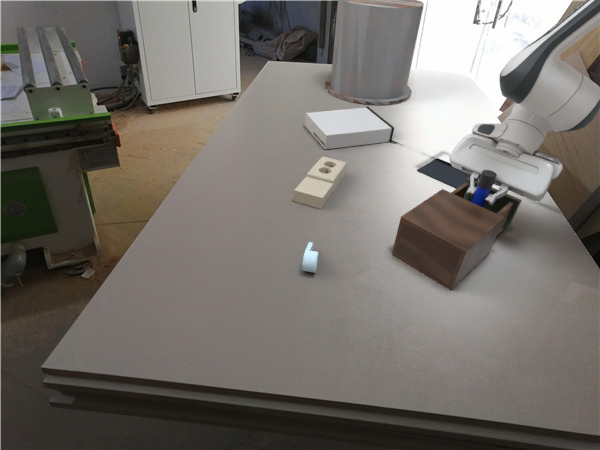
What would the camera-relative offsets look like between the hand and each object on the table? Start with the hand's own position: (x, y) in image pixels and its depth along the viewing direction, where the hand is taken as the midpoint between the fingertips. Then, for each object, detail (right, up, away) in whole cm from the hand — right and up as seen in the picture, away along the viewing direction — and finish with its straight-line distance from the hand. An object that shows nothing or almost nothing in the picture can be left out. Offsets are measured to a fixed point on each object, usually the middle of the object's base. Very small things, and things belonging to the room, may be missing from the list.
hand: (478, 199), depth 85 cm
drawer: (+1, -5, +6) cm, 8 cm away
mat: (+5, +9, +27) cm, 29 cm away
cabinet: (-9, -12, -1) cm, 14 cm away
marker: (0, -5, +4) cm, 7 cm away
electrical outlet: (-32, +4, +18) cm, 37 cm away
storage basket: (-10, +50, +80) cm, 95 cm away
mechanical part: (-35, -13, -5) cm, 38 cm away
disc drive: (-23, +23, +44) cm, 55 cm away
